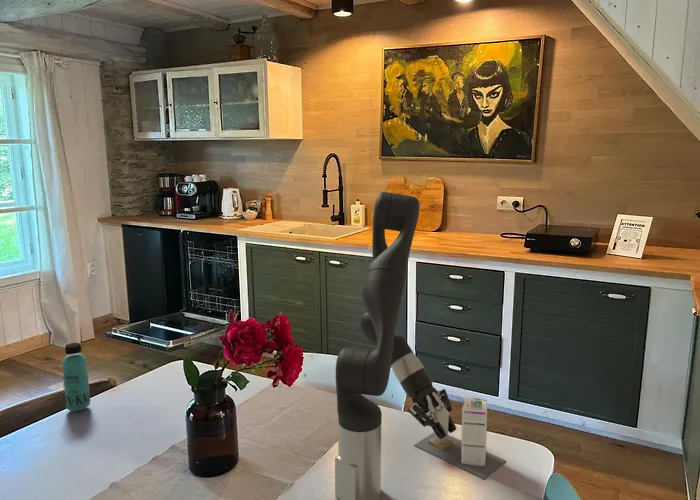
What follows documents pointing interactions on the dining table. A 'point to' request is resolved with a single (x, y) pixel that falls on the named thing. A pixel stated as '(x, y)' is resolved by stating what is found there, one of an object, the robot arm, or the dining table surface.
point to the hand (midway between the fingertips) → (448, 434)
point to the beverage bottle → (75, 378)
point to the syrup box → (474, 431)
